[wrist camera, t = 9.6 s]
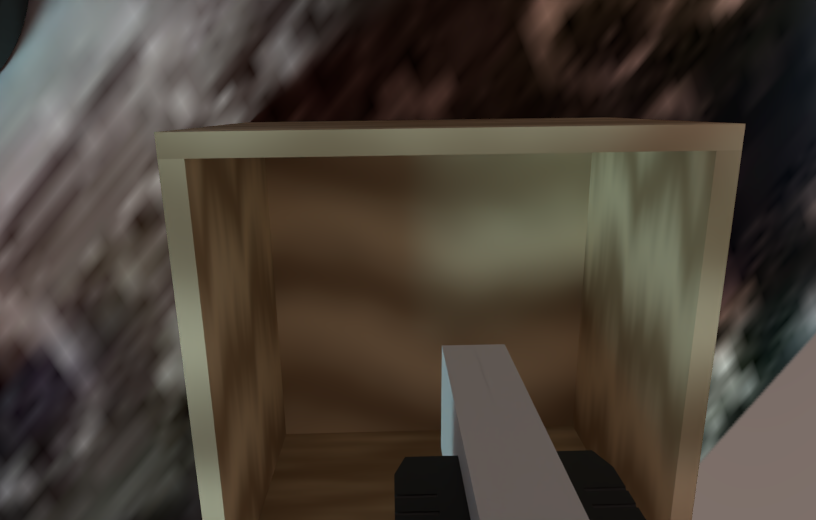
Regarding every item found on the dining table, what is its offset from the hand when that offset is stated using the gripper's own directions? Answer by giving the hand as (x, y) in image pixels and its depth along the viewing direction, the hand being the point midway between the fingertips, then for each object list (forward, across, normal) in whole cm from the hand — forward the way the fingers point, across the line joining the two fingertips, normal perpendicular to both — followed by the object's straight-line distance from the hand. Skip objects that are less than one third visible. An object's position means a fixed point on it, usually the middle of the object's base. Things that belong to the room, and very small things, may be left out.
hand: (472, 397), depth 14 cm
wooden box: (+17, 0, -3) cm, 18 cm away
